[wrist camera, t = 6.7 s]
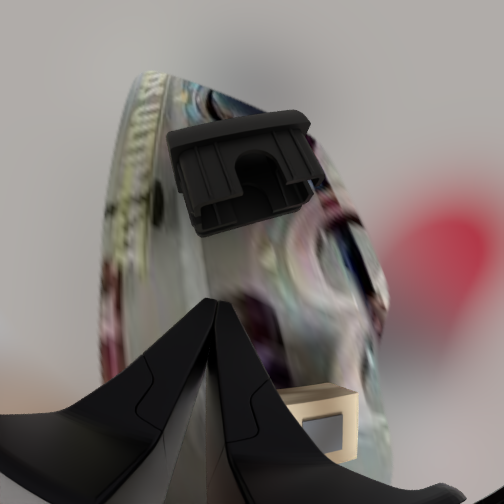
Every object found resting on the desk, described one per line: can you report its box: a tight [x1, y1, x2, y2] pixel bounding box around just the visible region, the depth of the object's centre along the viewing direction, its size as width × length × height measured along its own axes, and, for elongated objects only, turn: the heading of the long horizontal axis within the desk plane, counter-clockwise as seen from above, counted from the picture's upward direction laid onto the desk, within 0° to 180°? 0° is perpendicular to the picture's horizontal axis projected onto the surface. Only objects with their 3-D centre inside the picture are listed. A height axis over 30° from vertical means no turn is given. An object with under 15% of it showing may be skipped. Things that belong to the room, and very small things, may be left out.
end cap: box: [166, 110, 325, 237], centre depth 20 cm, size 10×7×7 cm
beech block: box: [276, 382, 358, 464], centre depth 16 cm, size 5×5×5 cm
